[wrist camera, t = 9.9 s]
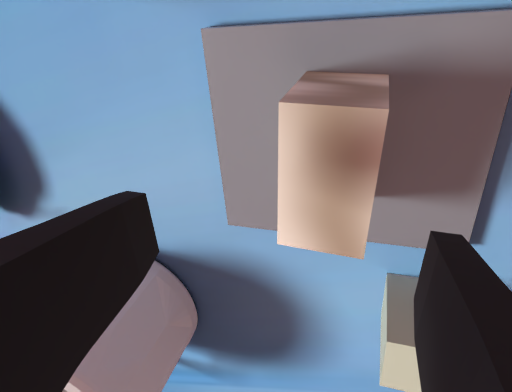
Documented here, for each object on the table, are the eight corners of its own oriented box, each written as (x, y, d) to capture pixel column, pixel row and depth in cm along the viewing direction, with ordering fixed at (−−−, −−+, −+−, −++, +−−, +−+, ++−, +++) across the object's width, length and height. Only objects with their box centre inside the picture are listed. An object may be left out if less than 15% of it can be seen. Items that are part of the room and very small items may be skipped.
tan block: (300, 187, 19) (277, 244, 15) (306, 71, 16) (278, 102, 12) (369, 196, 18) (363, 259, 14) (388, 74, 15) (389, 109, 11)
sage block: (487, 332, 21) (511, 416, 17) (381, 313, 23) (379, 385, 19) (503, 288, 19) (534, 371, 15) (386, 272, 21) (386, 341, 17)
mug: (74, 230, 28) (-52, 331, 20) (197, 263, 26) (110, 394, 18) (105, 338, 35) (20, 444, 27) (203, 372, 33) (143, 500, 25)
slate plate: (232, 217, 23) (228, 224, 22) (208, 26, 17) (200, 28, 16) (463, 244, 19) (465, 253, 18) (526, 7, 13) (533, 9, 13)
